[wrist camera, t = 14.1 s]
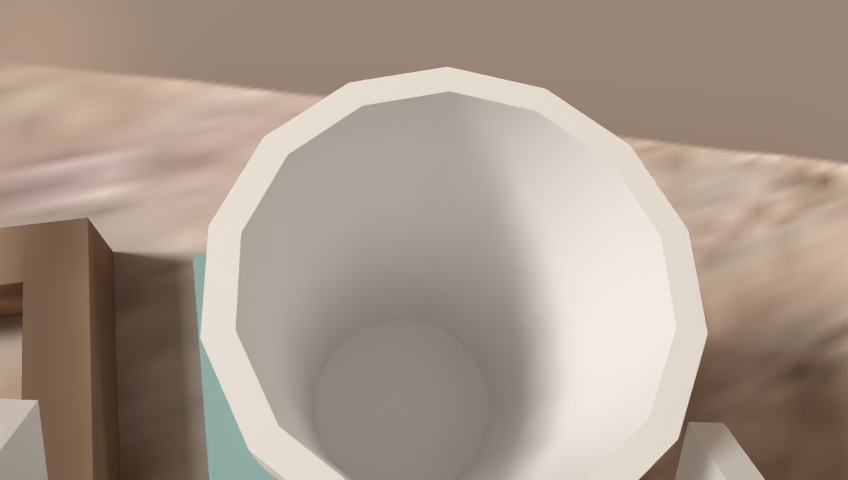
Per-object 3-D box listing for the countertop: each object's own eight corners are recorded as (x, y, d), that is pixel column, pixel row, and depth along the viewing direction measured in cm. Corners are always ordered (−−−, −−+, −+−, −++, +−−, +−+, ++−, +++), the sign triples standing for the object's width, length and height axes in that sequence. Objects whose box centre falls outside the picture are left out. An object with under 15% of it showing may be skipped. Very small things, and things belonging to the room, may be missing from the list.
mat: (530, 222, 30) (536, 212, 29) (618, 570, 26) (628, 571, 25) (197, 265, 28) (192, 255, 27) (226, 653, 24) (222, 657, 23)
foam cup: (492, 256, 29) (608, 41, 17) (572, 508, 25) (787, 465, 13) (238, 311, 27) (163, 112, 15) (290, 591, 23) (248, 626, 11)
